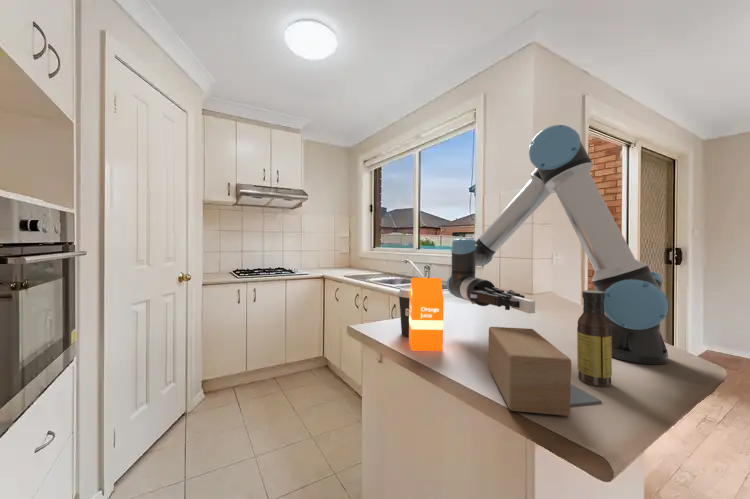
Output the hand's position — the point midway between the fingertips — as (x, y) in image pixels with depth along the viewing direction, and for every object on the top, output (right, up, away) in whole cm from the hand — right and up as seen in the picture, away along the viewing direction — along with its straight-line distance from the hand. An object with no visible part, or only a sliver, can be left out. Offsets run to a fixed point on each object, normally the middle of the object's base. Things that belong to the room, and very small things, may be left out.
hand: (532, 307), depth 70 cm
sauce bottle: (+13, -16, -1) cm, 21 cm away
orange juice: (-20, -16, +22) cm, 33 cm away
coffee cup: (-23, -15, +33) cm, 43 cm away
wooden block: (-3, -10, +4) cm, 12 cm away
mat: (+1, -16, -5) cm, 17 cm away
